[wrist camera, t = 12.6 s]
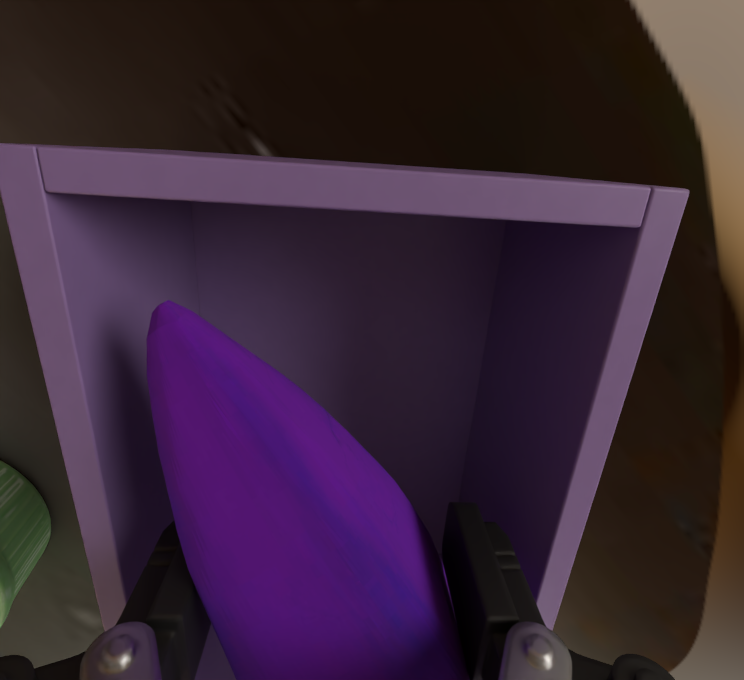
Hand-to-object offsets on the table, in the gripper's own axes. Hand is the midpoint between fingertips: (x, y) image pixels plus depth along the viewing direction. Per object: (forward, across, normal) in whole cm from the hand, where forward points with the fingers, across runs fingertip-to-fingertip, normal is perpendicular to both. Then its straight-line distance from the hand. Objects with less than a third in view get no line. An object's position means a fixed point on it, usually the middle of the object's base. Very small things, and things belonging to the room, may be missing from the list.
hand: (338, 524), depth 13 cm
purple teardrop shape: (+1, 0, 0) cm, 1 cm away
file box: (+8, 0, 0) cm, 8 cm away
